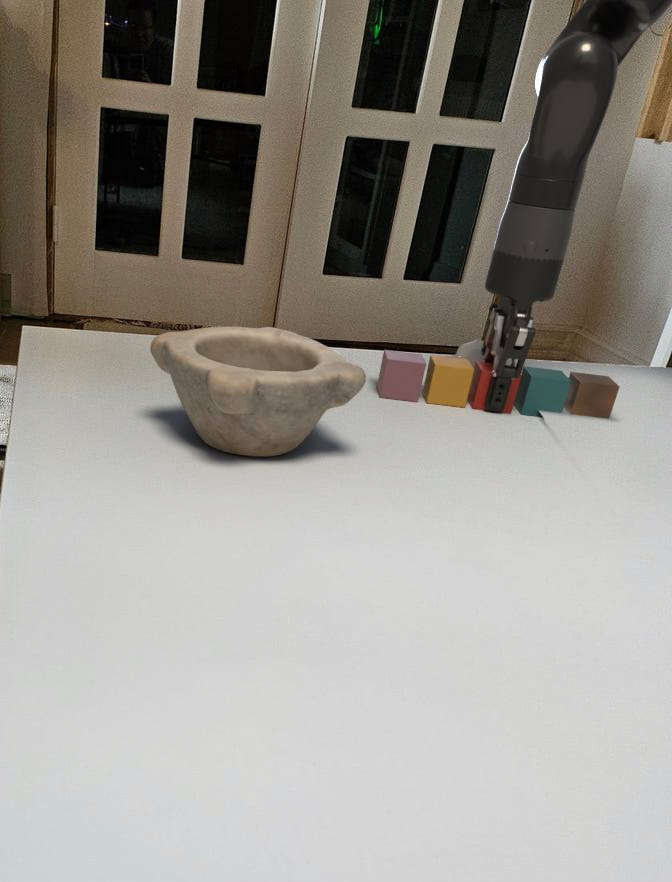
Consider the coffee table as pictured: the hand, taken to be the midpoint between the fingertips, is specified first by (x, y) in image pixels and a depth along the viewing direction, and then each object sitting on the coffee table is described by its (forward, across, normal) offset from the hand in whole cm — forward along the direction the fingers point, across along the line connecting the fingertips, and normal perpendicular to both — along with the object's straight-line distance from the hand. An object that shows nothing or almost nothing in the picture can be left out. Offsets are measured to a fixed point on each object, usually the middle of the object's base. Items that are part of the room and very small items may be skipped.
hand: (489, 403), depth 111 cm
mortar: (+1, -24, +28) cm, 37 cm away
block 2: (0, 0, +5) cm, 5 cm away
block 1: (0, 0, +11) cm, 11 cm away
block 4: (0, 0, -11) cm, 11 cm away
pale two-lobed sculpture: (+1, +16, 0) cm, 16 cm away
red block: (0, 0, 0) cm, 0 cm away
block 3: (0, 0, -6) cm, 6 cm away
